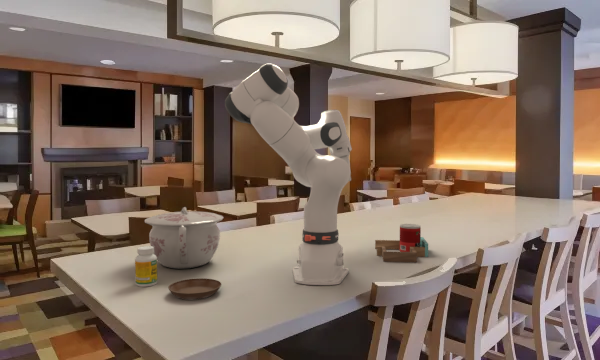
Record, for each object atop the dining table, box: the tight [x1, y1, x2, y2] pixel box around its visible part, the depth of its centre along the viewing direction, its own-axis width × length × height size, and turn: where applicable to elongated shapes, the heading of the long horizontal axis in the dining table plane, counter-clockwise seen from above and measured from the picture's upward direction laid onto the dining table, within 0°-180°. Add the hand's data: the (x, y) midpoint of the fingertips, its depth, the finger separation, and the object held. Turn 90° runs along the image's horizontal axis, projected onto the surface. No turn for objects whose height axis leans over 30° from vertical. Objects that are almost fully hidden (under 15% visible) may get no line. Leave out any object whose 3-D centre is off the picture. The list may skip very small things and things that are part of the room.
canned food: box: [399, 223, 422, 252], centre depth 175 cm, size 8×8×11 cm
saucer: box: [168, 277, 222, 301], centre depth 127 cm, size 15×15×3 cm
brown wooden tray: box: [374, 239, 426, 258], centre depth 176 cm, size 13×18×4 cm
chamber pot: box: [144, 206, 225, 270], centre depth 159 cm, size 28×28×21 cm
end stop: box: [420, 236, 429, 258], centre depth 175 cm, size 13×1×5 cm, turn 173°
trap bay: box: [381, 247, 418, 263], centre depth 165 cm, size 9×12×4 cm
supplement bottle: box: [134, 245, 158, 288], centre depth 136 cm, size 6×6×11 cm
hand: (349, 180), depth 183 cm, fingers closed
